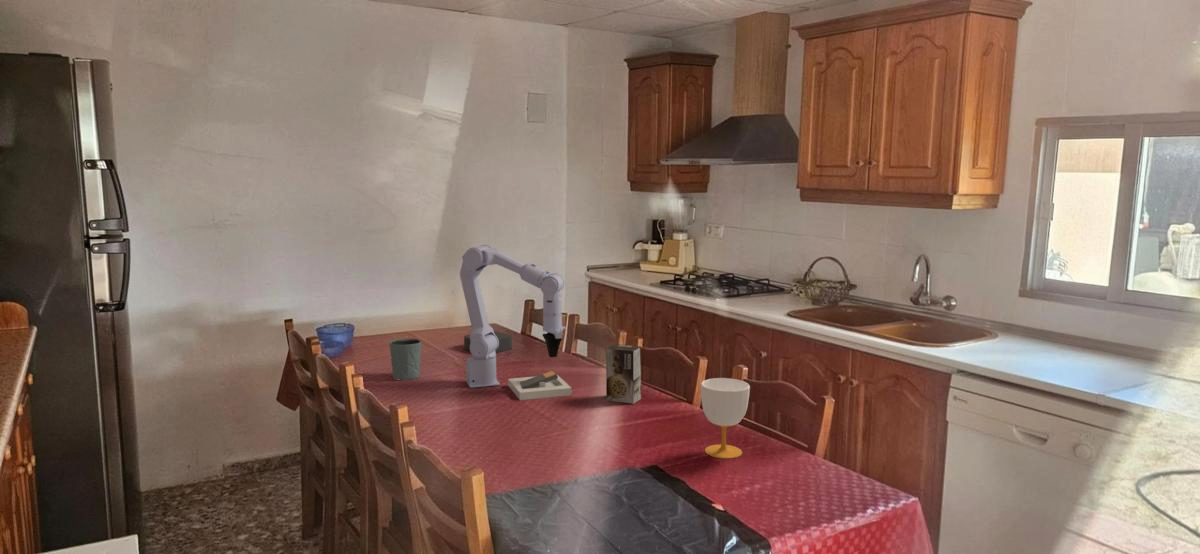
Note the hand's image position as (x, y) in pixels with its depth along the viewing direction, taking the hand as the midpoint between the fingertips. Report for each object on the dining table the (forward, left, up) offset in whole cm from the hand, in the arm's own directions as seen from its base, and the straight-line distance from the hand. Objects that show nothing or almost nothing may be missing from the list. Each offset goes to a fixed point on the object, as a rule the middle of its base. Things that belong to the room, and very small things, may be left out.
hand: (552, 356), depth 243 cm
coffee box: (+17, -17, -11) cm, 26 cm away
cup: (+25, -65, -11) cm, 70 cm away
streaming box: (-9, +60, -11) cm, 61 cm away
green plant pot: (-42, +29, -11) cm, 52 cm away
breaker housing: (-4, 0, -10) cm, 11 cm away
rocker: (-4, 0, -8) cm, 9 cm away
